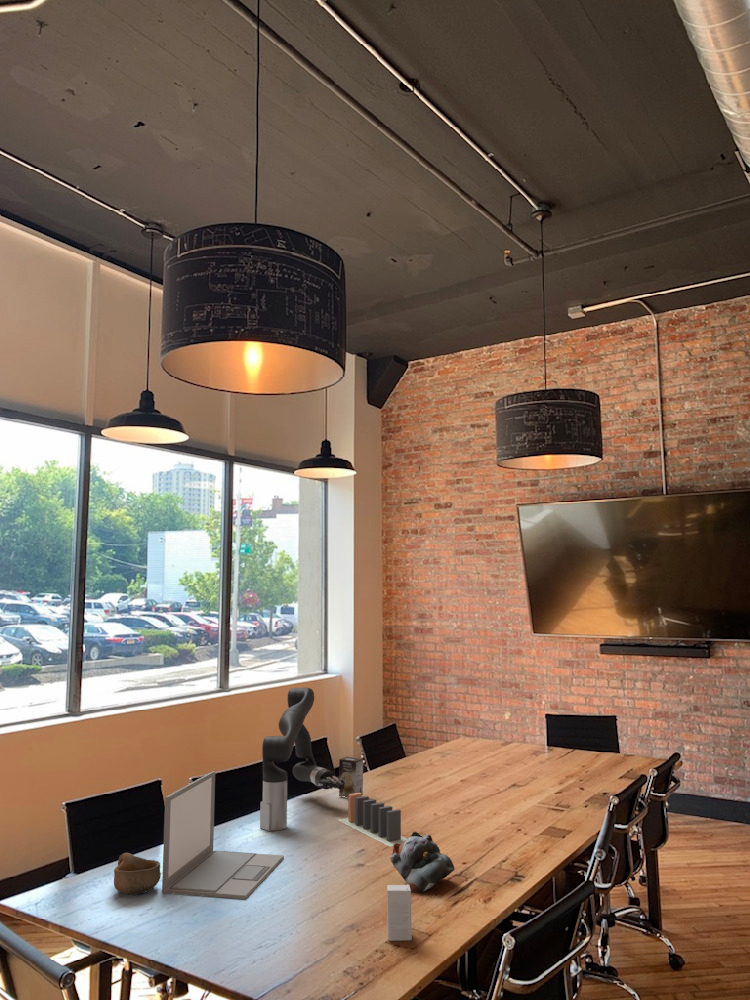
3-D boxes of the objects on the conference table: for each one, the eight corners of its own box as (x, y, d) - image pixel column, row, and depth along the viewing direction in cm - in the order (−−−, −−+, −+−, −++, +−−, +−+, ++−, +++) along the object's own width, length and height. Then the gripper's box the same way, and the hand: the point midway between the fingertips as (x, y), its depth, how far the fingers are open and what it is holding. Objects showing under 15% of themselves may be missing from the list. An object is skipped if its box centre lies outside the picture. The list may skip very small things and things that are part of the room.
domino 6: (386, 840, 266) (386, 811, 268) (398, 838, 269) (398, 809, 270) (389, 841, 265) (388, 812, 266) (400, 839, 268) (400, 810, 269)
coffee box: (338, 797, 327) (338, 758, 329) (346, 793, 333) (346, 756, 335) (355, 799, 322) (355, 761, 324) (363, 796, 328) (363, 758, 330)
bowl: (89, 886, 221) (99, 849, 225) (128, 886, 232) (136, 851, 235) (126, 900, 211) (136, 861, 215) (165, 899, 221) (174, 862, 225)
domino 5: (378, 836, 271) (378, 807, 272) (390, 834, 274) (389, 805, 275) (380, 837, 270) (380, 808, 271) (392, 835, 272) (392, 806, 273)
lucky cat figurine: (415, 897, 216) (392, 843, 222) (401, 900, 227) (379, 849, 233) (463, 871, 224) (439, 819, 229) (446, 875, 235) (424, 826, 240)
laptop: (245, 900, 215) (247, 801, 219) (161, 893, 221) (164, 797, 224) (283, 859, 249) (284, 774, 253) (209, 854, 254) (211, 771, 258)
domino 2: (355, 825, 285) (355, 797, 286) (366, 823, 287) (366, 795, 289) (357, 826, 283) (357, 798, 285) (368, 824, 286) (368, 796, 287)
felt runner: (336, 820, 292) (336, 819, 292) (359, 816, 297) (359, 815, 297) (389, 847, 260) (389, 846, 260) (413, 842, 265) (413, 841, 265)
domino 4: (370, 832, 276) (370, 804, 277) (382, 830, 278) (381, 802, 279) (372, 833, 274) (372, 805, 276) (384, 831, 277) (384, 803, 278)
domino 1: (348, 821, 289) (348, 794, 291) (359, 819, 292) (359, 792, 293) (350, 822, 288) (350, 795, 289) (361, 820, 291) (361, 793, 292)
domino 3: (362, 828, 280) (362, 800, 282) (374, 826, 283) (374, 798, 284) (365, 829, 279) (365, 801, 280) (376, 827, 281) (376, 799, 283)
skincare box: (410, 933, 193) (410, 884, 195) (411, 941, 189) (411, 890, 190) (386, 933, 193) (386, 884, 195) (387, 941, 189) (387, 890, 190)
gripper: (308, 770, 312) (328, 779, 297) (336, 766, 319) (356, 775, 304) (308, 789, 311) (328, 799, 296) (336, 784, 318) (356, 794, 303)
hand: (342, 787), depth 300 cm, fingers closed
